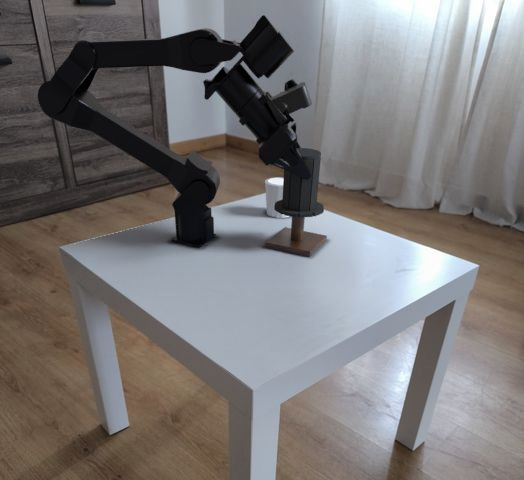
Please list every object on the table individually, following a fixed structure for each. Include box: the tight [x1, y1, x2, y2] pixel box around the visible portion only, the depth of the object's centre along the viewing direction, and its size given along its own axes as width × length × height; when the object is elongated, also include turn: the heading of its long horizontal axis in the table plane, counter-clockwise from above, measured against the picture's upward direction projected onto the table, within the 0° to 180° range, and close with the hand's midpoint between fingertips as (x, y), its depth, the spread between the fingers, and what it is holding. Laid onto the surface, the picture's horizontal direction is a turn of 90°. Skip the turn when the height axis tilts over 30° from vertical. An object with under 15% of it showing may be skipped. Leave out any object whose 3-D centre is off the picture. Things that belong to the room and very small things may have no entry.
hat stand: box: [264, 216, 328, 258], centre depth 92 cm, size 9×9×6 cm
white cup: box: [264, 176, 290, 219], centre depth 106 cm, size 7×7×7 cm
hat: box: [274, 147, 324, 218], centre depth 87 cm, size 9×9×10 cm
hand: (309, 172), depth 86 cm, fingers closed on hat, 6 cm apart
